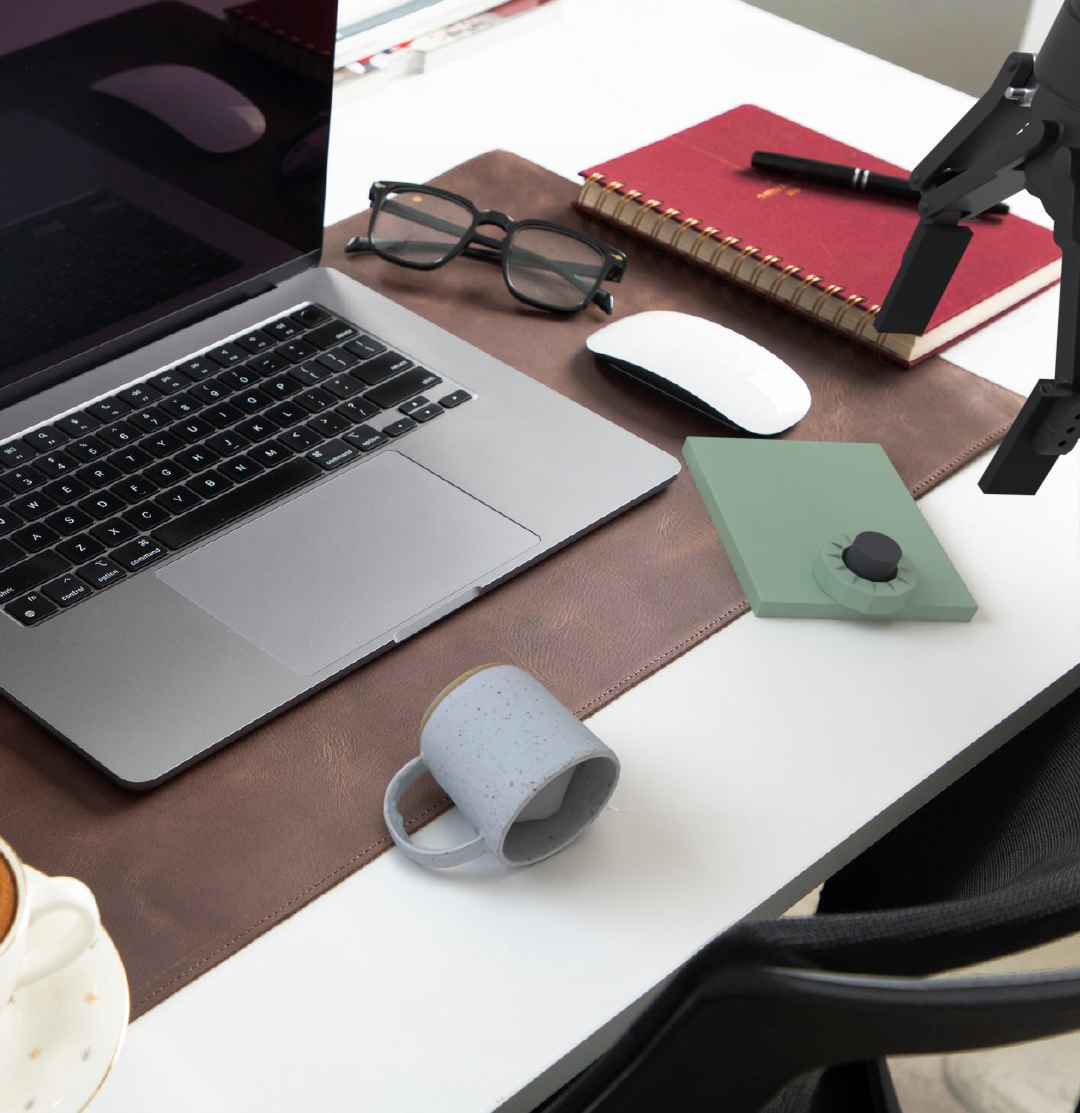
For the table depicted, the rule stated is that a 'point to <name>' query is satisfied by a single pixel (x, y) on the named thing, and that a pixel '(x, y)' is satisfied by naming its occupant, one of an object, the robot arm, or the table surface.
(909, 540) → the scale
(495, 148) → the table surface
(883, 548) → the button
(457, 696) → the ceramic mug
